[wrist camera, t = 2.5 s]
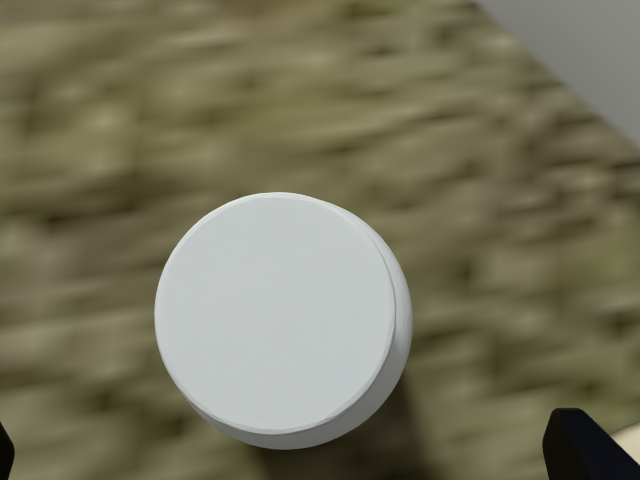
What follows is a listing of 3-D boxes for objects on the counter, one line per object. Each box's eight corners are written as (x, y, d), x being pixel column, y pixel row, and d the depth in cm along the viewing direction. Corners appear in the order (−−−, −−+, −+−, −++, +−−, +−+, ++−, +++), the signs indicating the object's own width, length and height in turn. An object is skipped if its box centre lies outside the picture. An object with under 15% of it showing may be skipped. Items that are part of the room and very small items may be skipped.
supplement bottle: (407, 381, 18) (490, 427, 9) (248, 433, 18) (150, 540, 8) (355, 227, 19) (376, 111, 10) (204, 275, 19) (70, 207, 9)
